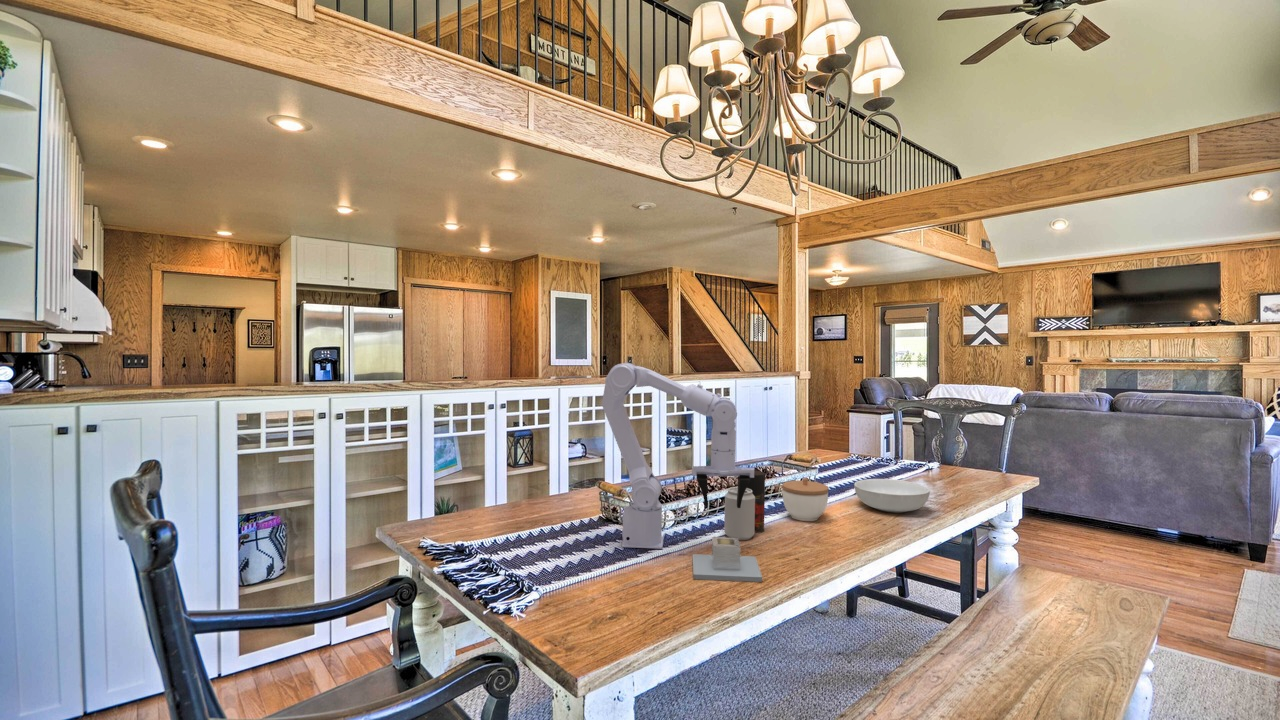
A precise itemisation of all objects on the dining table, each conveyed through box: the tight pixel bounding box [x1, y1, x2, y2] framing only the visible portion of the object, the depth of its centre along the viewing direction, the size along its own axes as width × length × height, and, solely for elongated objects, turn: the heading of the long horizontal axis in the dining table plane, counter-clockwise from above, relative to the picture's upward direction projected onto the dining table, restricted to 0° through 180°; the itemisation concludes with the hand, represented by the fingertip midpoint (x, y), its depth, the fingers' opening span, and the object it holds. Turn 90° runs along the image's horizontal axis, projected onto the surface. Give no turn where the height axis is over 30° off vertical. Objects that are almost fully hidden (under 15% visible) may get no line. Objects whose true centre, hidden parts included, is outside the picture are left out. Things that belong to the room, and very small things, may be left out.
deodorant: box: [747, 470, 766, 534], centre depth 157 cm, size 6×6×15 cm
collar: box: [711, 536, 741, 570], centre depth 129 cm, size 6×6×5 cm
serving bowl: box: [853, 478, 931, 514], centre depth 179 cm, size 21×21×7 cm
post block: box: [692, 553, 763, 583], centre depth 128 cm, size 14×12×5 cm
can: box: [723, 486, 755, 541], centre depth 151 cm, size 8×8×12 cm
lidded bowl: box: [781, 477, 830, 522], centre depth 168 cm, size 13×13×11 cm
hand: (722, 506), depth 142 cm, fingers open, 7 cm apart
